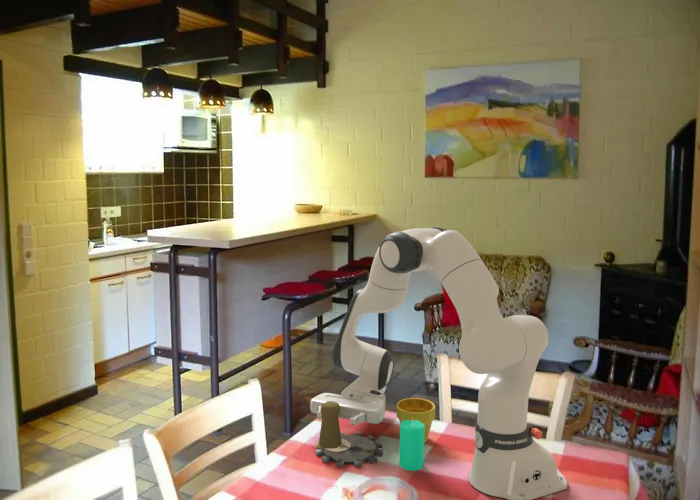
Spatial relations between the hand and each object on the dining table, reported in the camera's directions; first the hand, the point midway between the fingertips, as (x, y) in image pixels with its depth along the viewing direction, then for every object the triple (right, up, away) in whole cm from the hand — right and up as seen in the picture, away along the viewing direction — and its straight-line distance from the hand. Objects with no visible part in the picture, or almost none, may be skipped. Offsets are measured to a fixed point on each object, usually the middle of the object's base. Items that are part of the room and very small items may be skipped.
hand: (335, 419), depth 155 cm
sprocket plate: (+4, -8, +1) cm, 9 cm away
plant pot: (+21, -8, +8) cm, 24 cm away
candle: (+19, -10, -6) cm, 22 cm away
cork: (-2, -7, +3) cm, 8 cm away
